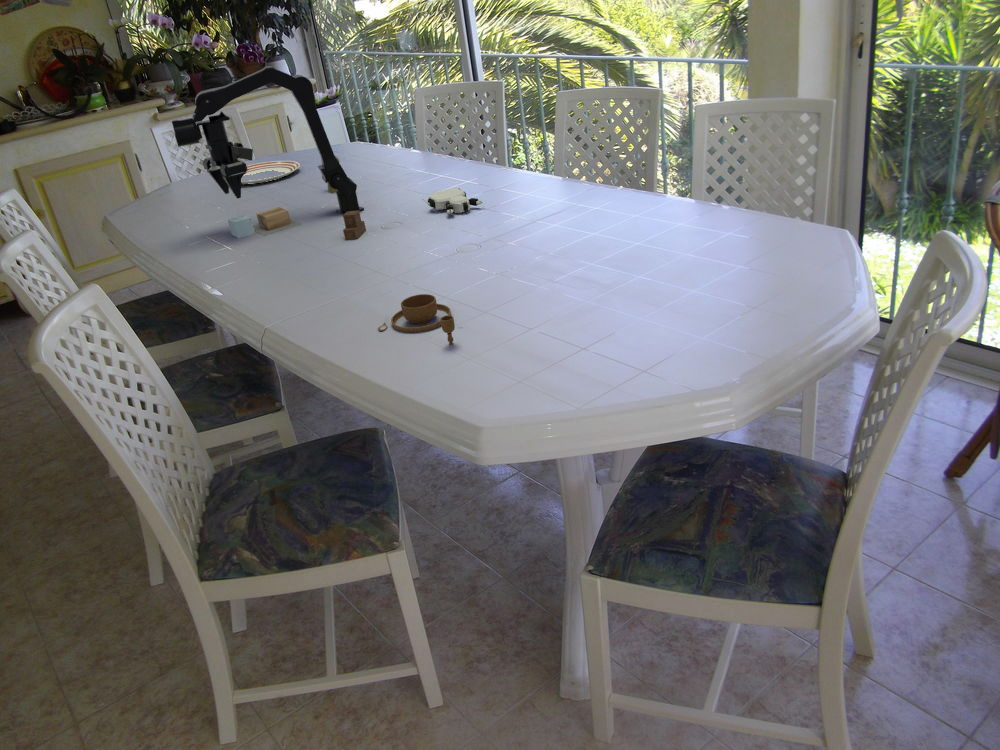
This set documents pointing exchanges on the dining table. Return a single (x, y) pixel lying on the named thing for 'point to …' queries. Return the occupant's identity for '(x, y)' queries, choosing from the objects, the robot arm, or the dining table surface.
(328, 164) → the robot arm
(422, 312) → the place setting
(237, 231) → the slate block
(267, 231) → the mat
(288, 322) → the dining table surface
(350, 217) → the stack of crates
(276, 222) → the tan square block
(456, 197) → the robot toy
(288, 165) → the dinner plate
